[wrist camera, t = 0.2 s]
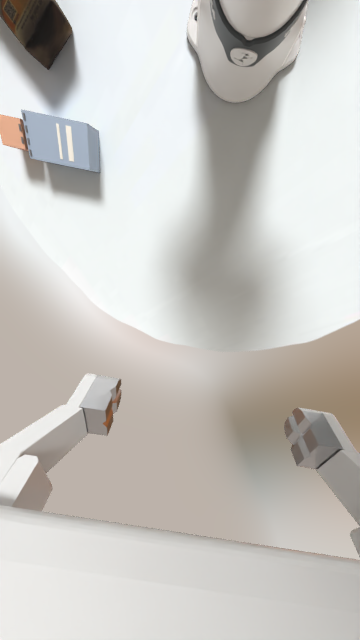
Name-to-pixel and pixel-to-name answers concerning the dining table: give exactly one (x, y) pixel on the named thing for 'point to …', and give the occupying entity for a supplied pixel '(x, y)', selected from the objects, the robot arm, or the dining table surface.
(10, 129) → the stub
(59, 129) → the double-striped slate block
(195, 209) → the dining table surface
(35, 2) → the beverage carton
